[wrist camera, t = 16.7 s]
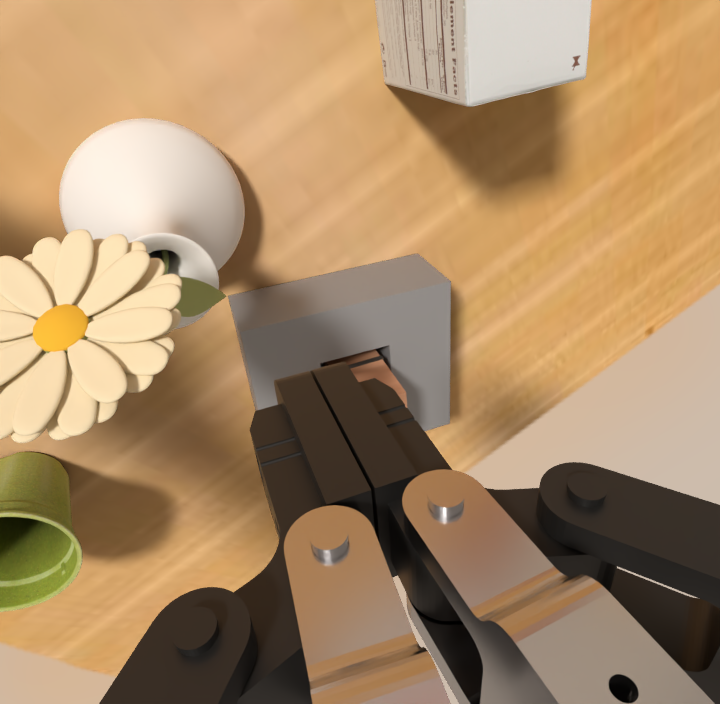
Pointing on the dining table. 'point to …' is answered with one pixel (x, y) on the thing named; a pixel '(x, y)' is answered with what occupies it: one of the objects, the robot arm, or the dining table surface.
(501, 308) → the dining table surface
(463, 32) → the supplement box
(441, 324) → the mortise board
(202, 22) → the dining table surface
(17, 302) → the flower in vase
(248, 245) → the dining table surface
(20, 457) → the plant pot
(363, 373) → the peg
